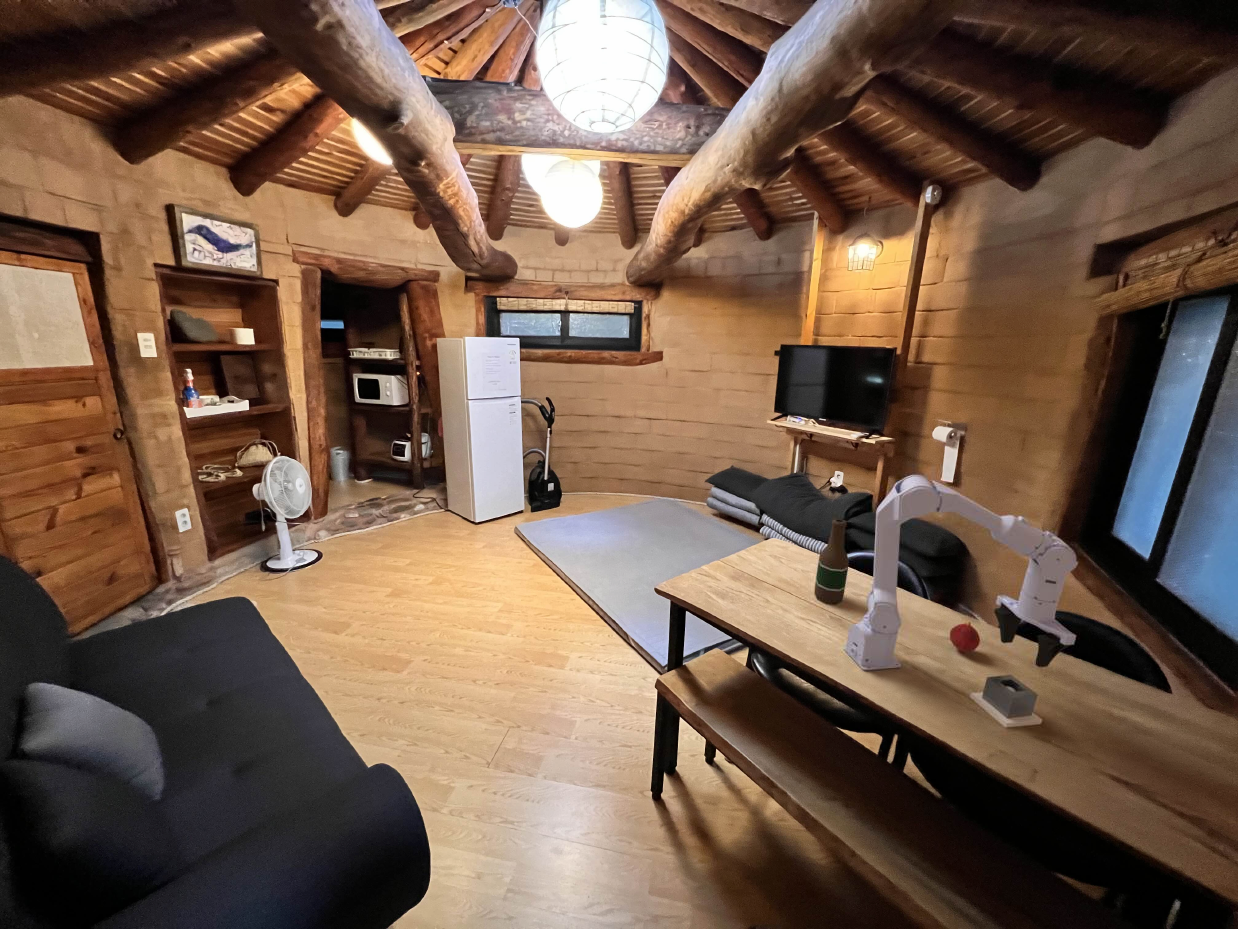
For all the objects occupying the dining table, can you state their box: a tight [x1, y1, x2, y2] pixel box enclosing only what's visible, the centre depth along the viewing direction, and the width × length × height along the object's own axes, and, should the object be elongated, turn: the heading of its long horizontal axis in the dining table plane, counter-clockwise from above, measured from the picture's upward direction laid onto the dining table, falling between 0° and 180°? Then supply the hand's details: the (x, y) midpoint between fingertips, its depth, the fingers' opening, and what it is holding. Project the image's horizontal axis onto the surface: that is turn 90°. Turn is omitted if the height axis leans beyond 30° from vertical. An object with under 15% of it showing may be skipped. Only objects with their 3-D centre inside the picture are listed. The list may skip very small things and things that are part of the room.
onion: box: [949, 620, 981, 653], centre depth 113 cm, size 6×6×8 cm
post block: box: [970, 686, 1043, 729], centre depth 95 cm, size 8×8×5 cm
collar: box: [982, 674, 1039, 719], centre depth 95 cm, size 6×6×5 cm
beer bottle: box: [813, 518, 850, 606], centre depth 133 cm, size 8×8×24 cm
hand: (1023, 653), depth 98 cm, fingers open, 7 cm apart
